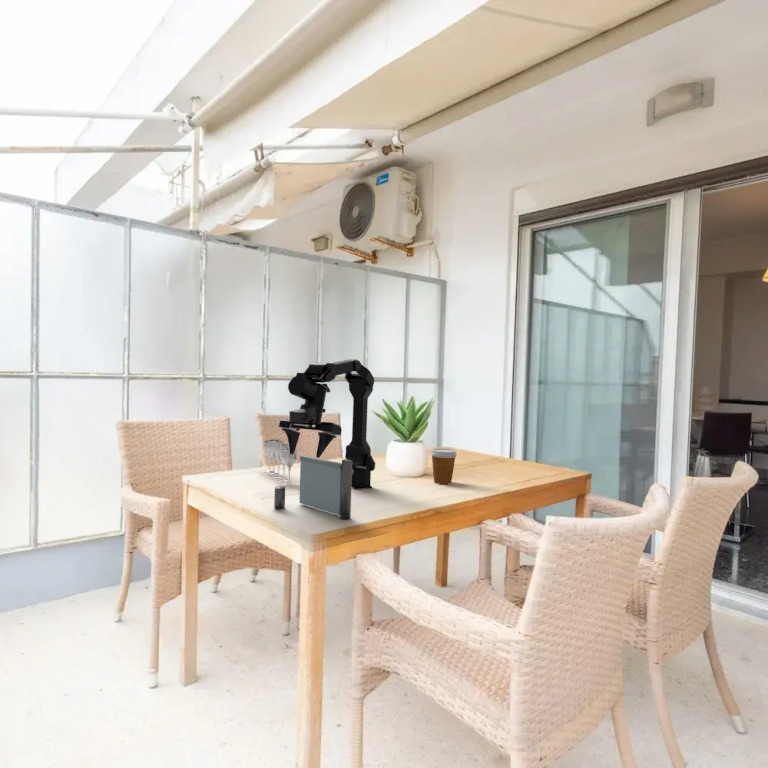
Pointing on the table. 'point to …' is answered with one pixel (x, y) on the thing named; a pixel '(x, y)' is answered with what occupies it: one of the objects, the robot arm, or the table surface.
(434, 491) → the table surface
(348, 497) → the posts
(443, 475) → the disposable coffee cup
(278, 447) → the goblet set
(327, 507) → the panel
